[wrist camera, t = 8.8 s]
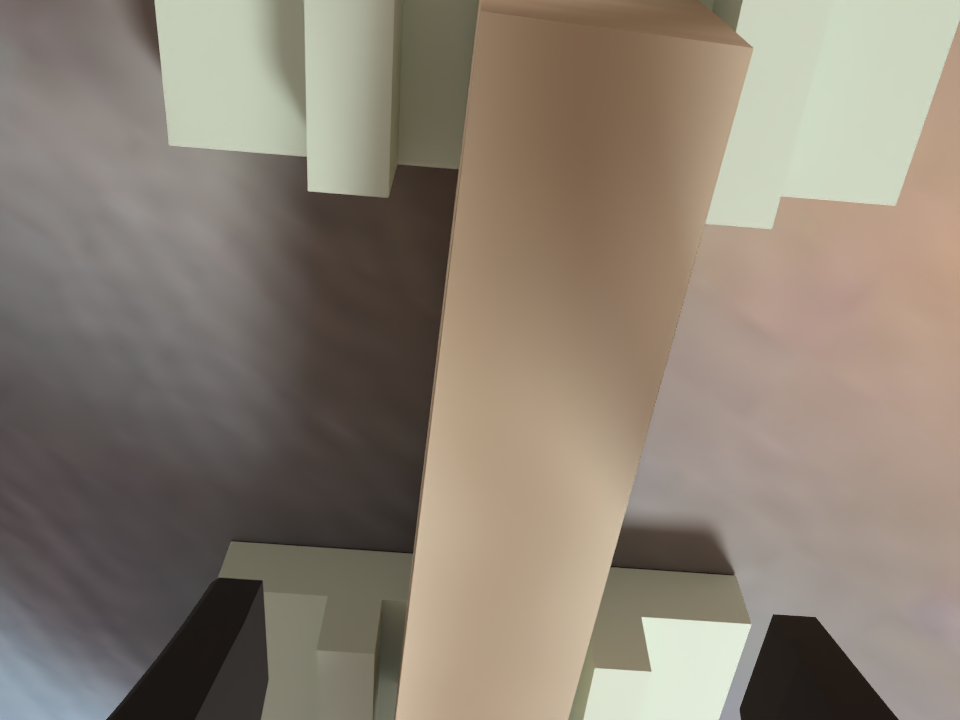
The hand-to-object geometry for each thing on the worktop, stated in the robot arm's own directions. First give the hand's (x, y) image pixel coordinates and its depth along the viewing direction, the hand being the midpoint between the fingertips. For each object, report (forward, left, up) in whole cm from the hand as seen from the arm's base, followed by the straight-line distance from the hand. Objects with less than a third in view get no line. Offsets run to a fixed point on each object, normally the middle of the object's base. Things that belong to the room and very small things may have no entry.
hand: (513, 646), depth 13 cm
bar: (0, 0, -5) cm, 5 cm away
